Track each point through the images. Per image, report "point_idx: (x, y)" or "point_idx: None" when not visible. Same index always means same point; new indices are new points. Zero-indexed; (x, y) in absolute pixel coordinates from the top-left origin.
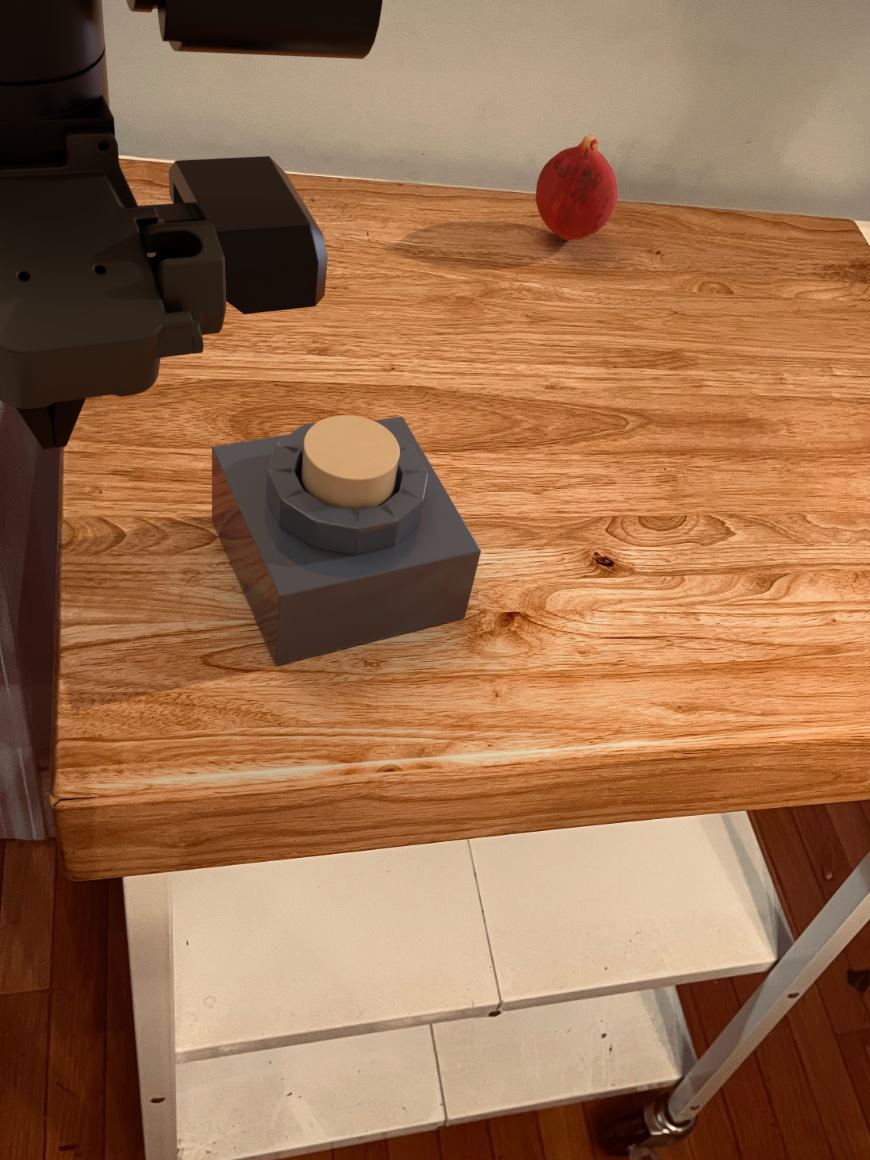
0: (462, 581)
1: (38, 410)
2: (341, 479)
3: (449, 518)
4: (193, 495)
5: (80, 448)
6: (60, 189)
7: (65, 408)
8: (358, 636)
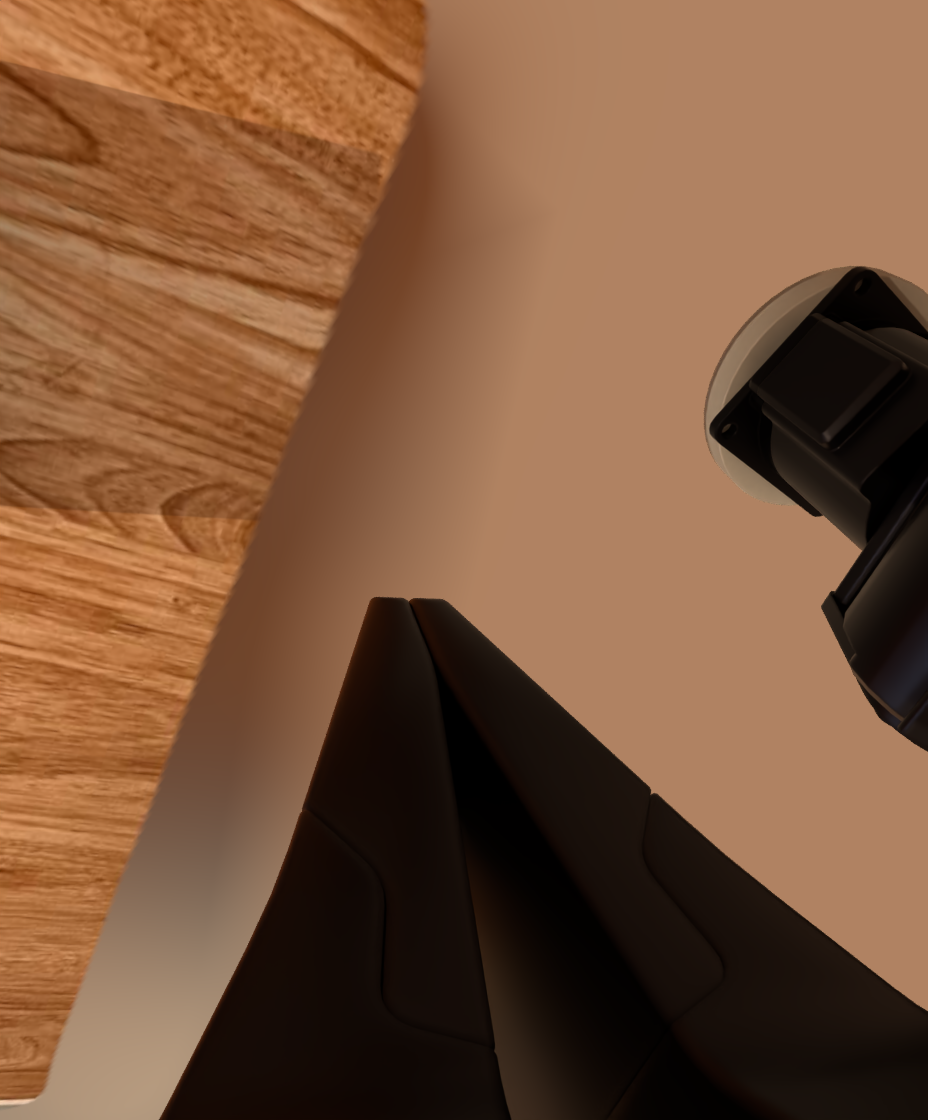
0: None
1: (514, 728)
2: None
3: None
4: (10, 556)
5: (182, 683)
6: None
7: (405, 723)
8: None
